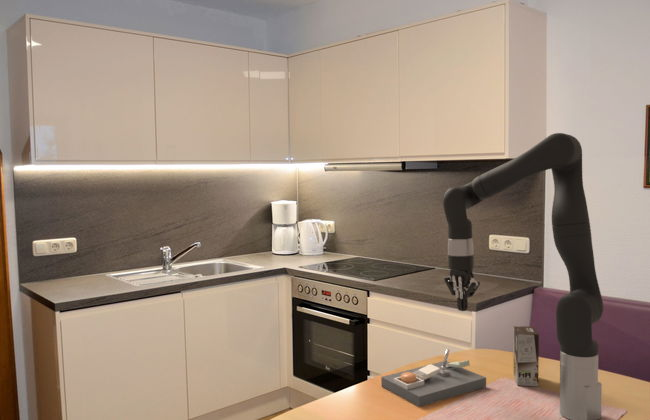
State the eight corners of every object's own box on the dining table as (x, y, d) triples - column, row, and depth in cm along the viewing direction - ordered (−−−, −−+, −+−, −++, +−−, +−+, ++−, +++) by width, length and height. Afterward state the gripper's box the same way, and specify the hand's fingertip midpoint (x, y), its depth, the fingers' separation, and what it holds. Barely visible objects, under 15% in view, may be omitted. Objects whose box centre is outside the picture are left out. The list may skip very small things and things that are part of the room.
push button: (419, 382, 164) (419, 375, 164) (407, 385, 162) (407, 378, 161) (409, 377, 168) (409, 371, 167) (398, 380, 165) (398, 374, 165)
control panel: (486, 387, 168) (486, 373, 168) (419, 407, 155) (419, 392, 155) (445, 369, 184) (445, 356, 184) (381, 386, 171) (381, 372, 171)
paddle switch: (469, 365, 173) (468, 360, 173) (461, 367, 171) (460, 362, 171) (456, 363, 178) (455, 358, 178) (448, 366, 176) (447, 361, 176)
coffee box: (539, 386, 168) (539, 334, 166) (516, 385, 169) (516, 333, 168) (534, 375, 176) (534, 326, 175) (513, 374, 178) (512, 325, 177)
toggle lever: (445, 371, 171) (451, 349, 172) (442, 370, 170) (448, 349, 171) (442, 370, 172) (448, 348, 173) (439, 369, 171) (444, 347, 172)
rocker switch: (440, 371, 168) (439, 367, 168) (422, 380, 164) (422, 376, 164) (430, 367, 172) (430, 363, 171) (413, 376, 168) (412, 371, 168)
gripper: (486, 253, 163) (488, 312, 163) (453, 250, 174) (455, 305, 175) (468, 256, 159) (469, 316, 160) (436, 252, 170) (438, 308, 171)
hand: (462, 310), depth 167 cm, fingers closed
